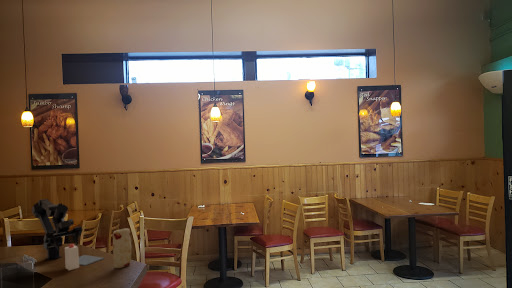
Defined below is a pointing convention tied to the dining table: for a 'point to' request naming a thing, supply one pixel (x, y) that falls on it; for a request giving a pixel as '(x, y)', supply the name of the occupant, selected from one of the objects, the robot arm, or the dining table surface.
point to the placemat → (88, 259)
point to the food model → (122, 248)
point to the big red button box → (71, 257)
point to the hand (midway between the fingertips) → (68, 247)
